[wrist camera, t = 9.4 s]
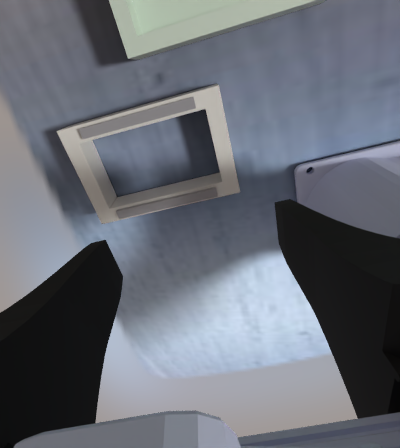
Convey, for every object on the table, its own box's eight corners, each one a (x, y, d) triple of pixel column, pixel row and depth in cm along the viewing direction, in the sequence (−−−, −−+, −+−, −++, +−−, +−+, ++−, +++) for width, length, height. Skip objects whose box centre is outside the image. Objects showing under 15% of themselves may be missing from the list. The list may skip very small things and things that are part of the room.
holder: (217, 83, 17) (218, 85, 15) (237, 181, 20) (240, 194, 18) (70, 125, 19) (54, 132, 17) (110, 211, 22) (100, 226, 20)
